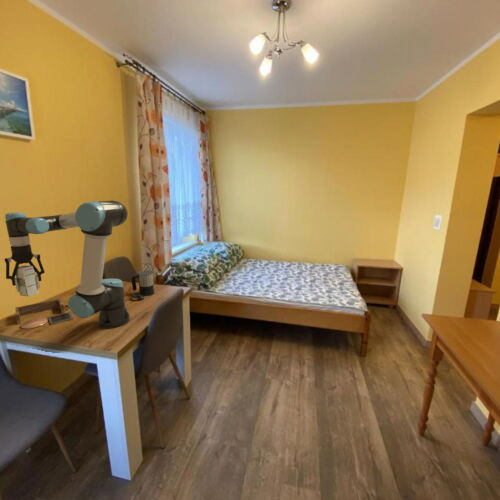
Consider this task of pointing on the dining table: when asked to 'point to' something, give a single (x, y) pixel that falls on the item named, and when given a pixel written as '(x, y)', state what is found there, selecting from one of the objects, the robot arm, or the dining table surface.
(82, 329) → the dining table surface
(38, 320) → the terracotta coaster
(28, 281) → the syrup box
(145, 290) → the milk frother
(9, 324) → the dining table surface
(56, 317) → the drain grate
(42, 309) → the walnut bay
